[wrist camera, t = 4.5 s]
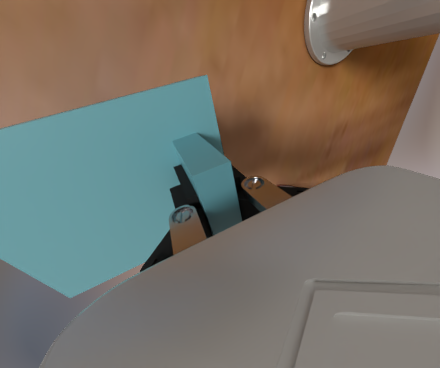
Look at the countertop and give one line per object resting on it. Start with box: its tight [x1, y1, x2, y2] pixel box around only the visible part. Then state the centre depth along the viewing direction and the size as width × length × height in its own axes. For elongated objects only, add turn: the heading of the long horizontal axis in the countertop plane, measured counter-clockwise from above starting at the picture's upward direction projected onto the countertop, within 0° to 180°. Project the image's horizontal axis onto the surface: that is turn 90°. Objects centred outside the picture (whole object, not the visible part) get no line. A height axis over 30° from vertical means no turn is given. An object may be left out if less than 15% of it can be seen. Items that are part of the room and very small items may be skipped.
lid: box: [0, 75, 242, 298], centre depth 10 cm, size 15×12×7 cm
